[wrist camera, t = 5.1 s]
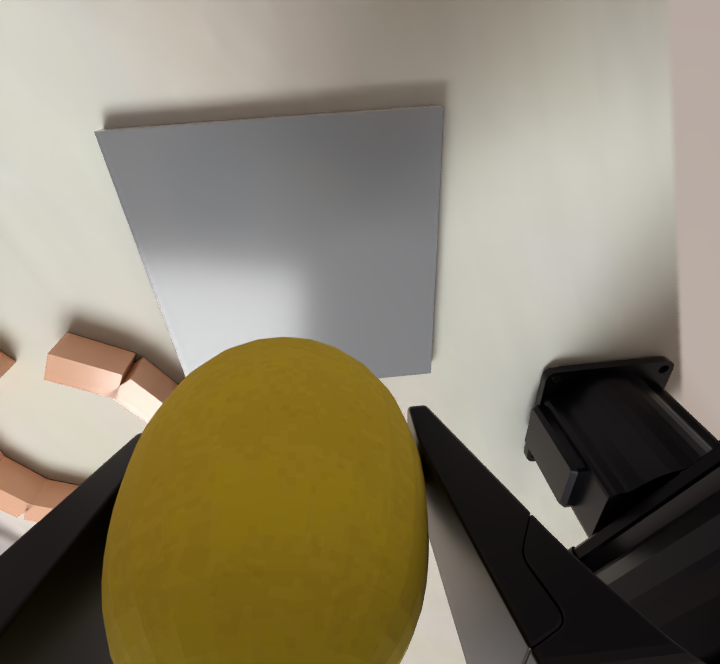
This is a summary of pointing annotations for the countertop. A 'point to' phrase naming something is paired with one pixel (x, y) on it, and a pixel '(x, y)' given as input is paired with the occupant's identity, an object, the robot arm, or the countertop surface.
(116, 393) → the c ring
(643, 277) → the countertop surface
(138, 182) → the slate coaster
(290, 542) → the lemon
